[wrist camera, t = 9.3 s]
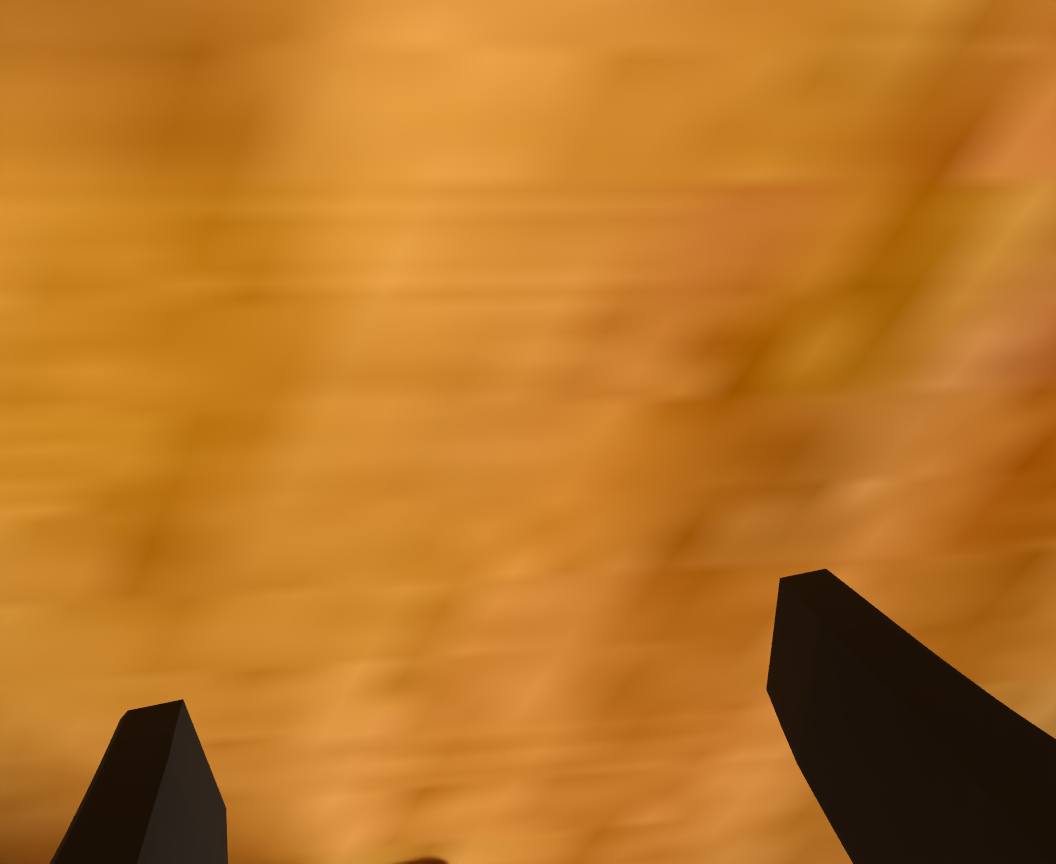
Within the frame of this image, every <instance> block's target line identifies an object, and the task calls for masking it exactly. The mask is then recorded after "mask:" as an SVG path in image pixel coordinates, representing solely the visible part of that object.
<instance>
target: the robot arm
mask: <svg viewBox="0 0 1056 864" xmlns="http://www.w3.org/2000/svg"><path fill="white" fill-rule="evenodd" d="M767 692H768V694H769V697H770V699H771V702H772V704H773V707H774V709H775V712H776V714H777V717H778V719H779V722H780V724H781V727H782V729H783V732H784V734H785V736H786V739H787V741H788V743H789V746H790V748H791V750H792V753H793V755H794V757H795V760H796V762H797V764H798V766H799V768H800V770H801V772H802V773H803V775H804V777H805V779H806V781H807V783H808V784H809V786H810V788H811V790H812V792H813V793H814V795H815V797H816V799H817V801H818V802H819V804H820V806H821V808H822V809H823V811H824V813H825V815H826V817H827V818H828V820H829V822H830V824H831V826H832V827H833V829H834V831H835V833H836V834H837V836H838V838H839V840H840V841H841V843H842V845H843V847H844V848H845V850H846V852H847V854H848V855H849V857H850V859H851V861H852V862H853V864H1056V739H1055V738H1053V737H1052V736H1050V735H1049V734H1047V733H1046V732H1044V731H1043V730H1041V729H1040V728H1038V727H1037V726H1035V725H1034V724H1032V723H1031V722H1029V721H1028V720H1026V719H1025V718H1023V717H1022V716H1020V715H1019V714H1017V713H1016V712H1014V711H1013V710H1011V709H1010V708H1008V707H1007V706H1006V705H1004V704H1003V703H1001V702H1000V701H998V700H997V699H996V698H994V697H993V696H991V695H990V694H989V693H987V692H986V691H985V690H983V689H982V688H981V687H979V686H978V685H976V684H975V683H974V682H972V681H971V680H970V679H968V678H967V677H966V676H964V675H963V674H962V673H960V672H959V671H957V670H956V669H955V668H953V667H952V666H951V665H949V664H948V663H947V662H945V661H944V660H943V659H941V658H940V657H939V656H937V655H936V654H935V653H933V652H932V651H931V650H929V649H928V648H927V647H925V646H924V645H923V644H922V643H920V642H919V641H918V640H916V639H915V638H914V637H913V636H911V635H910V634H909V633H907V632H906V631H905V630H904V629H902V628H901V627H900V626H898V625H897V624H896V623H895V622H893V621H892V620H891V619H889V618H888V617H887V616H886V615H884V614H883V613H882V612H881V611H879V610H878V609H877V608H876V607H874V606H873V605H872V604H870V603H869V602H868V601H867V600H865V599H864V598H863V597H862V596H860V595H859V594H858V593H856V592H855V591H854V590H853V589H851V588H850V587H849V586H848V585H846V584H845V583H844V582H842V581H841V580H840V579H839V578H837V577H836V576H835V575H833V574H832V573H831V572H830V571H828V570H827V569H822V570H817V571H812V572H807V573H803V574H798V575H793V576H788V577H783V578H780V582H779V591H778V599H777V607H776V615H775V623H774V631H773V640H772V648H771V656H770V664H769V672H768V681H767ZM50 864H228V854H227V822H226V807H225V804H224V802H223V799H222V797H221V794H220V792H219V789H218V787H217V784H216V782H215V779H214V777H213V774H212V771H211V769H210V766H209V764H208V761H207V759H206V756H205V754H204V751H203V749H202V746H201V744H200V741H199V738H198V736H197V733H196V731H195V728H194V726H193V723H192V721H191V718H190V716H189V713H188V711H187V708H186V705H185V703H184V700H178V701H173V702H168V703H163V704H158V705H153V706H148V707H143V708H138V709H133V710H129V711H127V712H126V713H125V715H124V716H123V717H122V718H121V719H120V721H119V723H118V726H117V728H116V730H115V732H114V735H113V737H112V739H111V741H110V743H109V746H108V748H107V750H106V752H105V754H104V756H103V759H102V761H101V763H100V765H99V767H98V769H97V771H96V773H95V776H94V778H93V780H92V782H91V784H90V786H89V788H88V790H87V792H86V794H85V796H84V798H83V800H82V802H81V804H80V806H79V808H78V810H77V812H76V814H75V816H74V818H73V820H72V822H71V824H70V826H69V828H68V830H67V832H66V834H65V836H64V838H63V840H62V842H61V844H60V845H59V847H58V849H57V851H56V853H55V855H54V857H53V859H52V860H51V862H50Z"/></svg>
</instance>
